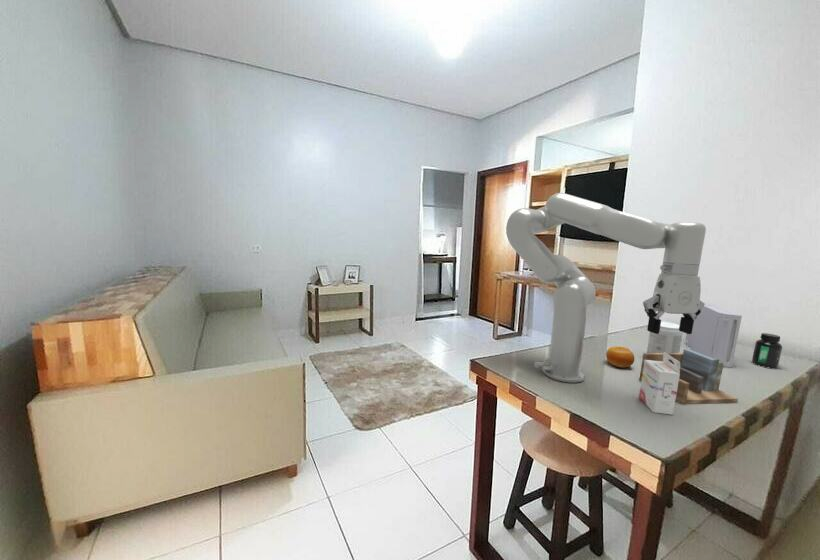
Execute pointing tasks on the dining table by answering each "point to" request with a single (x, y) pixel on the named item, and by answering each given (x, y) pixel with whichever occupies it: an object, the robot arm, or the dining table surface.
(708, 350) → the game console
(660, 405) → the ink cartridge box
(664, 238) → the robot arm
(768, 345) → the supplement bottle
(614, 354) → the fruit
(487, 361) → the dining table surface
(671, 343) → the supplement tub
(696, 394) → the wooden slotted rack
